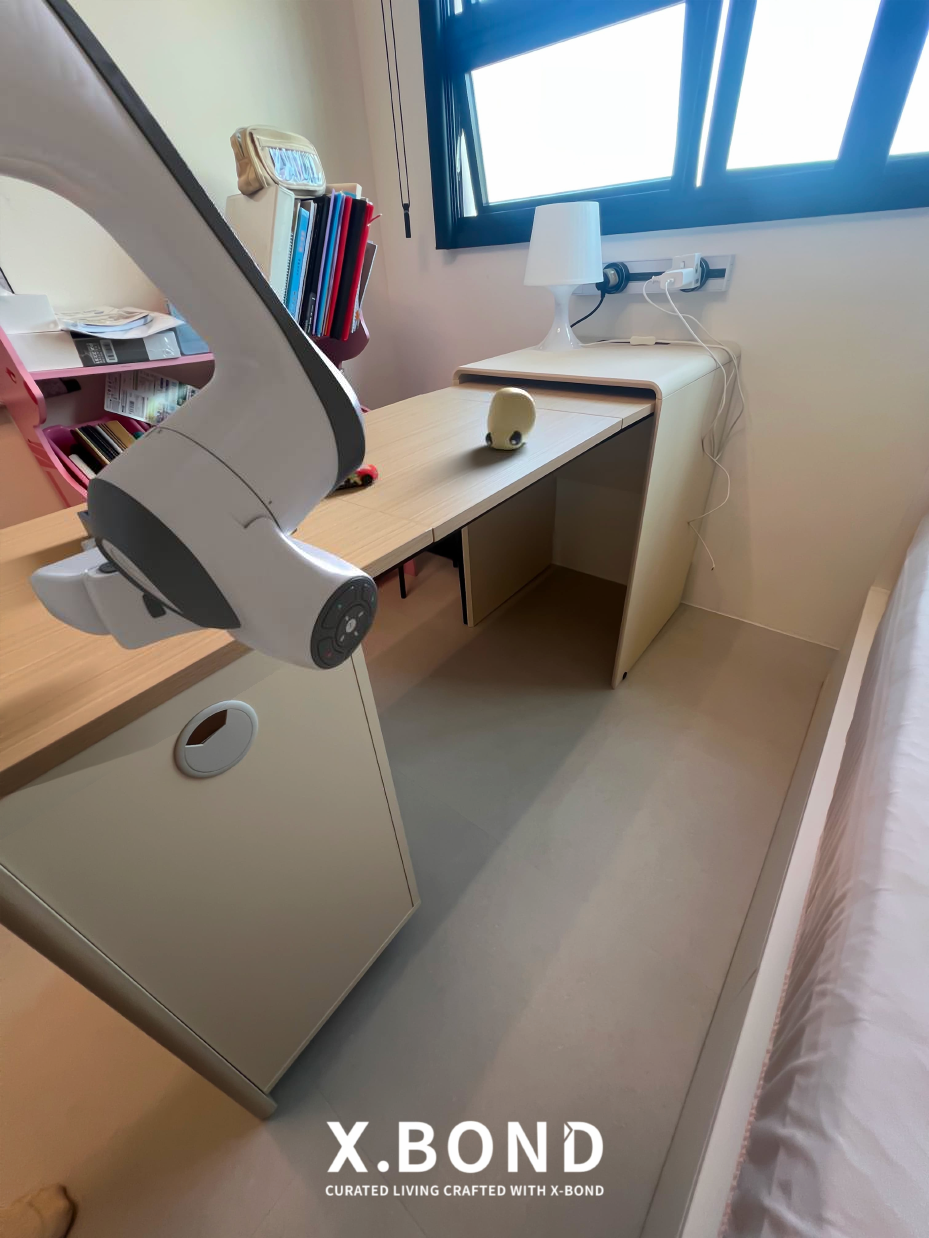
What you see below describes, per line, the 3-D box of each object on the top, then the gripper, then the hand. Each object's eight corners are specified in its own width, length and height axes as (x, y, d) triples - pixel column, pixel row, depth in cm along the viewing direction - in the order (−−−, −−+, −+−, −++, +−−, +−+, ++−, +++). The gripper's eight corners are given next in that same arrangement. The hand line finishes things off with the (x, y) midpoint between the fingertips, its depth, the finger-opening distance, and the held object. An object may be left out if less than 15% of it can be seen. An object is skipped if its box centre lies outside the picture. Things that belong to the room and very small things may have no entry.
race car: (376, 474, 91) (373, 452, 89) (382, 484, 87) (378, 461, 84) (301, 485, 88) (296, 462, 86) (303, 496, 84) (298, 472, 81)
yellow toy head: (488, 459, 106) (470, 435, 96) (500, 406, 107) (484, 376, 97) (532, 462, 102) (519, 437, 92) (545, 406, 103) (533, 376, 93)
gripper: (303, 490, 47) (215, 468, 54) (64, 590, 33) (-13, 543, 40) (317, 551, 51) (233, 523, 57) (107, 663, 37) (29, 609, 44)
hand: (130, 532), depth 49 cm, fingers closed on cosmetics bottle, 6 cm apart
